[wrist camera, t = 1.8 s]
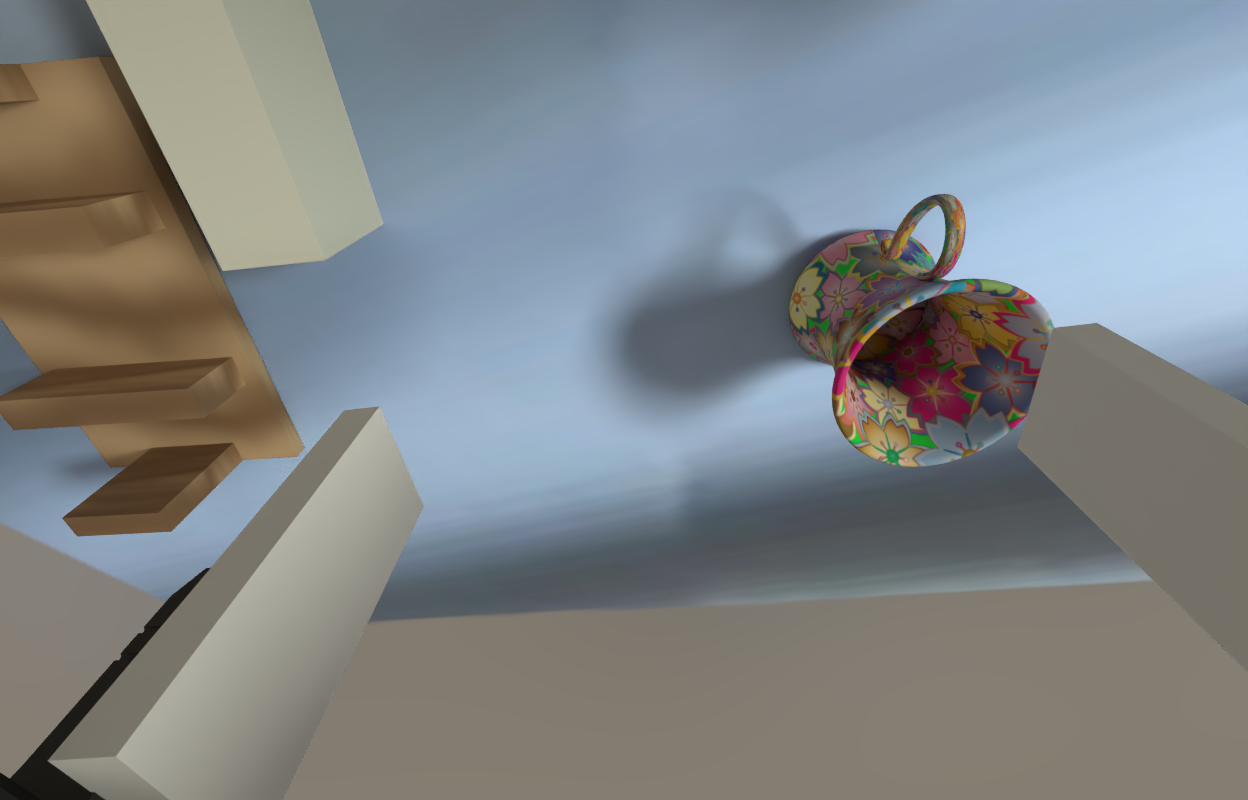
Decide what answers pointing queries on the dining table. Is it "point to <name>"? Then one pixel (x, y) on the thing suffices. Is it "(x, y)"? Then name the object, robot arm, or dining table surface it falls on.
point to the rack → (121, 303)
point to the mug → (918, 343)
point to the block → (246, 123)
